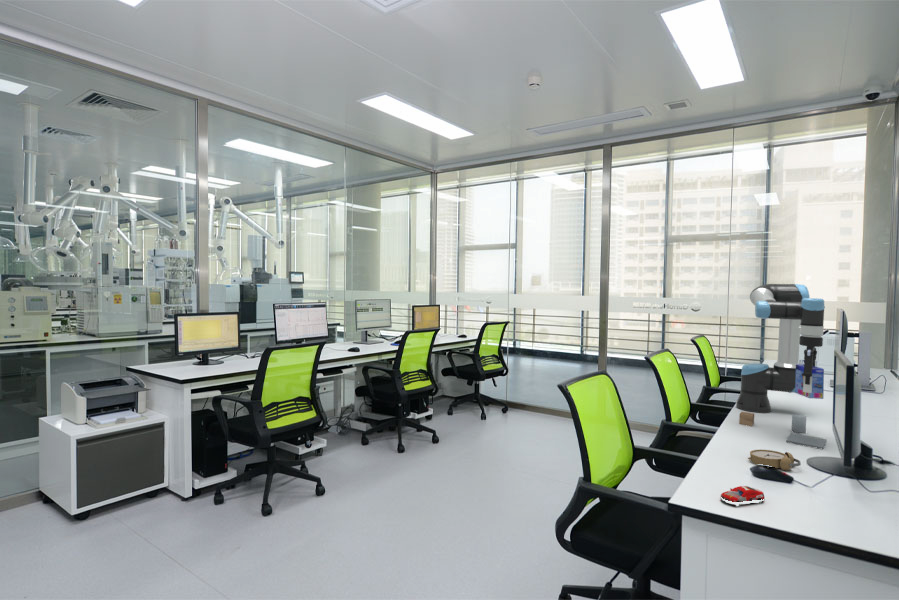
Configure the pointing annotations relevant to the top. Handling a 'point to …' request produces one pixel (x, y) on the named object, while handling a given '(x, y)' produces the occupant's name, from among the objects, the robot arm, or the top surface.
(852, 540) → the top surface
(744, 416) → the walnut cube
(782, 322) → the robot arm
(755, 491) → the race car
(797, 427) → the slate cylinder
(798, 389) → the ink cartridge box
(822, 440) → the charcoal mat
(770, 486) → the top surface
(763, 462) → the alarm clock
